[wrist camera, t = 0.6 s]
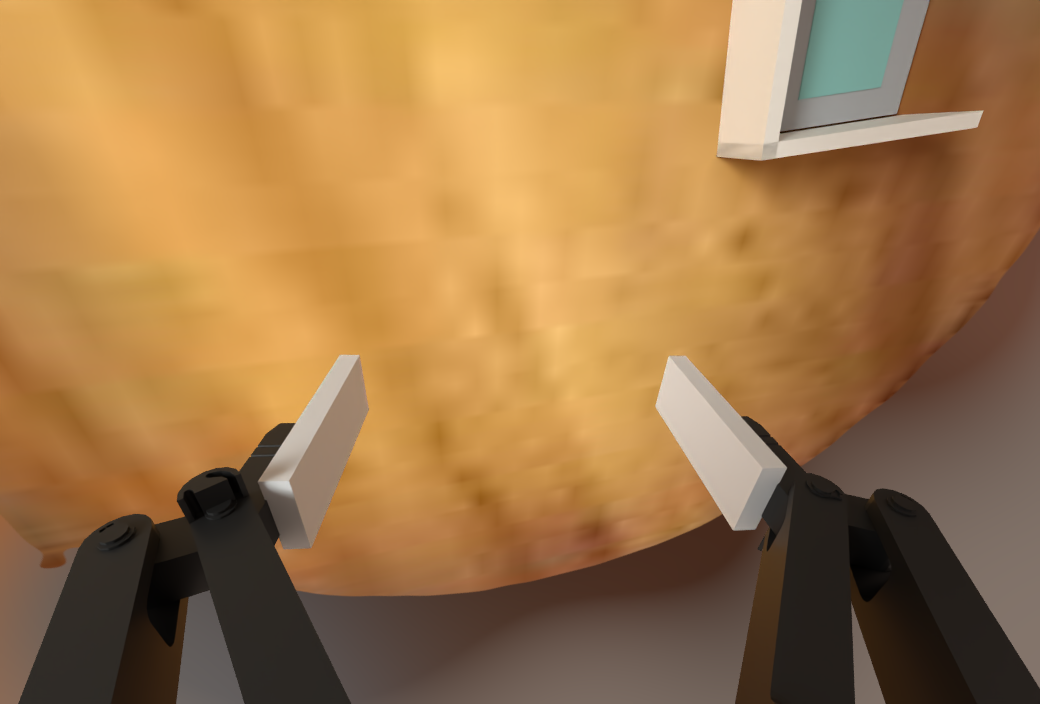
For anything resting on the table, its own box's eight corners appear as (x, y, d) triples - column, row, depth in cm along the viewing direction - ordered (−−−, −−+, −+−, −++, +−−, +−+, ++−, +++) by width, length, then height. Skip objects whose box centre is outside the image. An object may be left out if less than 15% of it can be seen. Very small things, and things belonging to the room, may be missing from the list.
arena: (743, -109, 29) (812, -174, 23) (979, -144, 29) (1108, -218, 23) (716, 156, 38) (760, 160, 32) (898, 128, 38) (977, 127, 32)
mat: (767, -109, 29) (773, -114, 29) (962, -138, 30) (972, -144, 29) (736, 137, 37) (741, 137, 37) (891, 114, 38) (897, 113, 37)
